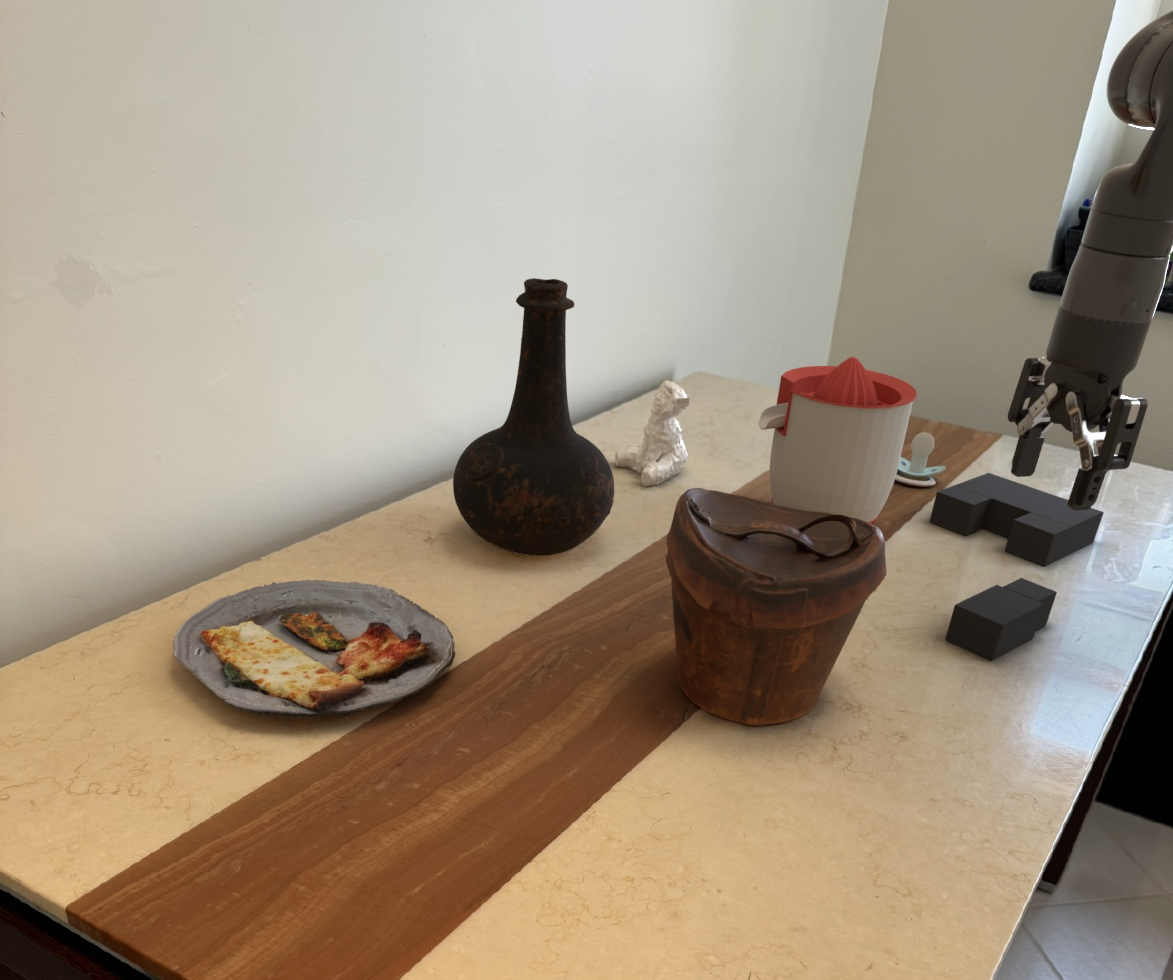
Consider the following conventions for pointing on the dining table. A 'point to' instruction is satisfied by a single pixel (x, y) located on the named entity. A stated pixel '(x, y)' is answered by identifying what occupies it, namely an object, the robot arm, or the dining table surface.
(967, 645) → the pad
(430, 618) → the food plate
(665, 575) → the dining table surface
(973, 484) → the socket pad
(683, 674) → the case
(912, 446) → the pacifier
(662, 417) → the seated beast figurine
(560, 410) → the glass bottle
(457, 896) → the dining table surface
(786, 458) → the citrus juicer
